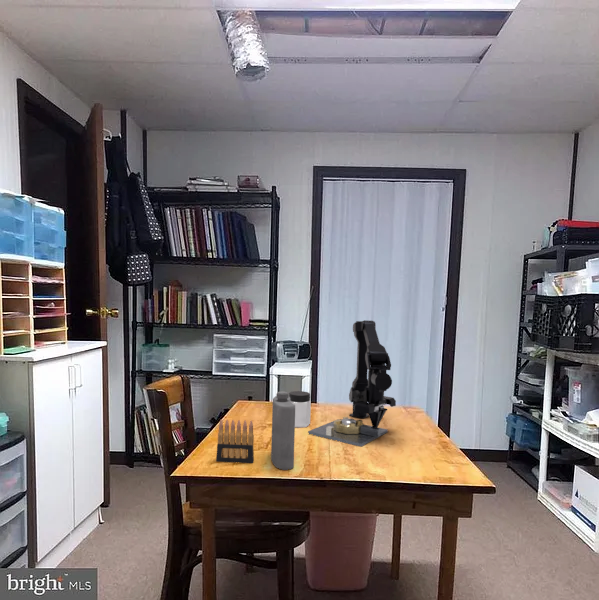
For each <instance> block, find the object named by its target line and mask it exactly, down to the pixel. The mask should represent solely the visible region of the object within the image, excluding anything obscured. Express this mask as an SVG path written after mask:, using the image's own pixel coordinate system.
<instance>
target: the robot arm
mask: <svg viewBox="0 0 599 600" xmlns="http://www.w3.org/2000/svg"><path fill="white" fill-rule="evenodd" d="M376 323H377V322H376V321H374V320H356V321H355V322H354V323H353V325H352V332H353V336H354V338H355V339H356V340H355V341H356V343H357V349H356V351H357V352H356V374H355V375H356V376H355V378H354V380H352V383H351V385H352V386H351V387H350V390H349V393H348V399H349V402H350V403H352V413H350V414H349V417H353V418H358V419H361V420H362V419H366V418H369V420H370V424H371V426H373V427H376V428H377V427H378V426H379V425H380V424H381V421H382V419H383V418H384V416H385V414H386V412H387V411H388V408H385V405H389V406H390V407H391V408H392V407H396V406H397V405H396V403H397V401H396V399H395V398H394V397H391V396H385V392H386V391H387V390H389V389H390V388H391V387H392V384H393V380H392V377H391V376H390V375H389V374H388V373H387V371H391V368H392V363H391V358H390V355H389V353H388V352H387V350H386V347H385V346H384V345H382V344H381V343H380V339H379V336H378V333H377V330H376ZM378 428H379V427H378Z"/></svg>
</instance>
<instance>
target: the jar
mask: <svg viewBox="0 0 599 600" xmlns="http://www.w3.org/2000/svg"><path fill="white" fill-rule="evenodd" d="M288 394H289V395H288V396H289V397H290V402H291V403H293V404H294V405H295V428H307V427H308V426H310V425H311V411H312V410H311V406H312V403H311V402H312V401H311V393H310V392H309V391H301V390H297V391H293V390H292V391H290V392H289V393H288ZM309 424H310V425H309Z"/></svg>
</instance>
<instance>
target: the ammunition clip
mask: <svg viewBox="0 0 599 600" xmlns="http://www.w3.org/2000/svg"><path fill="white" fill-rule="evenodd" d="M224 424H225V425H224ZM254 439H255V438H254V423H253V420H251V419H250V422H249V425H248V426H247V420H244V421H243V424H242V423H241V420H239V419H238V420H237V424H236V425H235V420H234V419H232V420H231V424H230V425H229V420H228V419H226V420H225V423H224V422H223V420H222V419H220V420H219V425H218V432H217V445H216V456H215V462H217V463H236V462H237V463H238V462H239V463H240V464H253V463H254V461H255V457H254V456H255V455H254V454H255V451H254V441H255V440H254ZM237 463H236V464H237Z"/></svg>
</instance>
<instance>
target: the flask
mask: <svg viewBox="0 0 599 600" xmlns="http://www.w3.org/2000/svg"><path fill="white" fill-rule="evenodd" d="M271 414H272V415H271V417H272V419H271V444H270V445H271V450H270V459H271V462H272V464H273V465H274V467H275V468H277V469H278V468H279V470H281V469H282V470H283V471H288V469H289V470H292V469H293V468H294V463H295V435H296V434H295V432H296V431H295V430H296V427H295V405H294V404H293V403H291V402H290V397H289V393H288V392H287V391H282V390H281V391H278V392H276V396H273V398H272V413H271Z"/></svg>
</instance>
